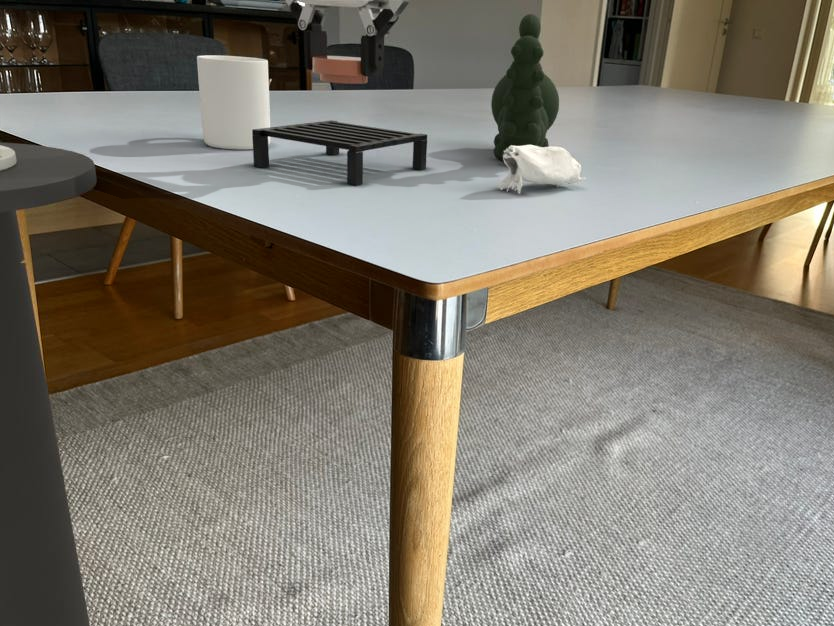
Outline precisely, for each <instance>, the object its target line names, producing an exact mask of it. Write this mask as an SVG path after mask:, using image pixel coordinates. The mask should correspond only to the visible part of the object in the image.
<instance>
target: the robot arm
mask: <svg viewBox="0 0 834 626" xmlns="http://www.w3.org/2000/svg"><path fill="white" fill-rule="evenodd" d="M284 1H285V2H286V3H287V6H288V7H289V10H290V13H291V14H292V16H293V17H294V18H295V20H296V21H297V26H298V28H299V30H301V31H303V55H304V68H305V70H308V71H312V56H328V34H327V31H326V30H323V27H324V25H325V22H326V18H327V16H328V13H329V10H330V7H341V8H355V9H357V12H358V14H359V18H360V20H361V22H362V26H363V28H364V31H365V35H361V38H360V58H361V74H362V75H363V76H368V77H381V76H383V73H384V66H385V37H388V36H389V34H390V30H391V29H392V28H393V26H395V24H396V23H397V22H398V20H399V18H400V15H401V14H402V13H403V12H404V11H405V10H406V8H407V6H408V5H409V4H410V0H284ZM286 3H285V4H286ZM16 162H17V160H16V154H15V151H14V150H12V149H11V148H8V147H5V146H1V145H0V171H2V170H6V169H8V168H11V167H13V166H14V165H15V164H16Z"/></svg>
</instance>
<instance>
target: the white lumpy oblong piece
mask: <svg viewBox="0 0 834 626" xmlns="http://www.w3.org/2000/svg"><path fill="white" fill-rule="evenodd" d="M503 162H504V165H506V167H507V168H508V171H509V174H508V175H507V176H505V178H504V179H503V180H501V183H500V184H501V185H502V186H500V187H499V189H500V191H502V190H503V189H505V188H507V189H506V192H509V189H510V188H511V189H512V190H514V191H515V192H517V194H519V195H521V192H522V188H523V182H527V183H532V184H536V185H538V184H539V185H550V186H556V188H559V187H560V186H561V185H562V184H565V183H566V184H568V185H574V184H578V183H581V182H583V181H586V177H580V176H581V175H580V174H581V171H582V165H581V164H580V163H579V162H578V161H577V160H576V159H575V158H574V157H572V155H571V153H570V152H569V151H567V149H565V148H564V147H561V146H550V145H549V147H538V146H534V145H524V146H512V145H511V146H509V147H508V149H507V148H506V150H504V154H503Z"/></svg>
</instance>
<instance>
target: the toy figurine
mask: <svg viewBox="0 0 834 626" xmlns="http://www.w3.org/2000/svg"><path fill="white" fill-rule="evenodd" d="M541 29H542V25H541V21H540V19H539V17H538V16H537V15H535V14H533V13H529V14H526V15H524V16H523V17H522V18H521V20H520V23H519V26H518V33H519V38H518V39H517V40H516V41H515V42H514V45H513V46H512V47H511V49H510V54H511V55H512V59H513V61H512V62H511V64H510V66H509V68H508V69H507V70H506V72H505V75H504V76H502V78H501V79H499V81H498V82H497V84H496V85H495V87H494V88H493V92H492V96H491V103H490V107H491V113H492V117H493V119H494V122H495V124H496V125H497V131H498V133H497V134H496V135H495V136H494V139H493V145H494V149H493V151H492V152H493V155H494V158H496V159H497V160H500V161H501V160H503V154H504V150H506V148H507V149H508V147H509V146H511V145H512V146H524V145H534V146H538V147H550V145H549V140H548V139H547V132H548V131H549V130H550V128H551V127H552V126H553V124H554V123H555V121H556V119H557V116H558V114H559V109H560V97H559V92H558V90H557V87H556V85H555V83H554V82H553V81H552V79H551V78H550V77H549V76H547V74H545V72H544V71H543V67H542V65H541V62H540V61H541V60H542V58H543V56H544V49H543V47H542V44H541V42H540V41H539V37H540V34H541V32H542V31H541ZM503 161H504V160H503Z"/></svg>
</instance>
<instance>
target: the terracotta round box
mask: <svg viewBox="0 0 834 626" xmlns="http://www.w3.org/2000/svg"><path fill="white" fill-rule="evenodd" d="M311 71H312V73H315V74H318V75H319V80H320V81H321V82H326V83H335V84H346V85H347V84H351V85H352V84H353V85H355V84H356V85H358V84H359V85H360V84H361V85H362V84H368V82H369V81H368V80H369V79H368V78H369V76H363V75H362V74H361V57H360V56H359V57H357V56H344V55H343V56H342V55H327V56H312V70H311Z"/></svg>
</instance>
